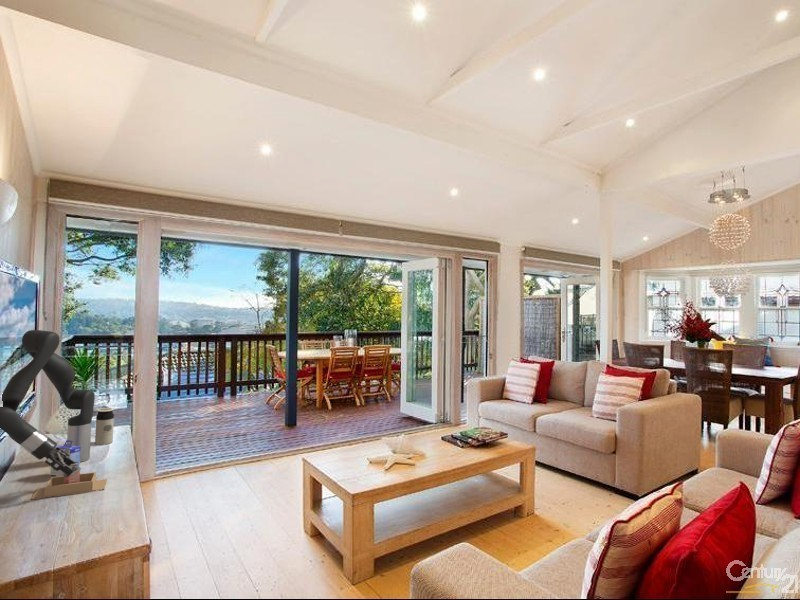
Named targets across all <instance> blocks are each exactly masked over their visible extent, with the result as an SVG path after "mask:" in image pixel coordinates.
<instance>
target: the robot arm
mask: <svg viewBox="0 0 800 600" xmlns="http://www.w3.org/2000/svg"><path fill="white" fill-rule="evenodd" d="M60 341H61V339H60V335H59V334H58V333H57V332H55V331H50V330H49V331H48V330H42V329H31V330H28V331H26V332H25V333H24V334H23V335H22V338H21V344H22V348H23V349H24V350H25V351H26V352H27V353H28V354H29V355H30V356H31V357H32V358H33V359H32V360H31V361H29V362H28V364H26V365H25V366H23V367H22V368H21V369H20V370H18V371H17V372H16V373H15V374H14V375H13V376H12V377H11V378H10V379H9V381H8V383H7V384H6V386H5V388H4V390H3V391H2V393H3V394H2V393H1V395H2V401H3V407H0V428H1V429H0V430H1V431H3V432H5V433H6V434H7V435H8V437H9V438H10V439H12V441H14V442H15V443H17V444H18V445H20V446H21V448H23V449H24V450H25V451H26V452H28V453H29V454H30V455H32V456H33V457H35V459H37V460H42V459H44V458H45V459H46V460H44V463H45V464H47V465H49V466H50V468H51V467H52V468H54V469H55V470H56V471H58V470H59V471H60V470H61V471H62V472H64V473H65V474H66V475H68V476H69V475H70V474H71V473H73V470H72V469H71V468H69V467H68V466H70V465H71V464H75V462H74V461H73V460H71V459H70V457H69V456H70V455H69V454H67V453H66V452H64V451H63V450H62V449H60V448H59V447H57V448H55V447H56V446H58V443H57V442H55V440H53V439H52V438H50V437H49V436H47V435H46V434H45V433H43V432H42V431H40V430H38V429H37V428H36V427H34V425H32V424H30V423H28V422H27V421H26V420H25V419H24V418H23V417H22V416H20V415H19V414H18V413H17V411H18V408H19V406H20V405H21V403H22V402H23V400H24V399H25V398H26V396H27V394H28V392H29V390H30V388H31V386H32V384H33V382H34V381H35V379H36V377H38V375H39V373H41V371H43V372H44V374H45V375H46V377H47V378H48V380H49V381H50V383H52V385H53V387H55V389H56V391H57V392H58V394H59V396H60V398H61V400H62V402H63V405H64V406H65V407H66V409H69V410H77V411H78V410H80V412H79V414H77V415H75V416H72V417H70V418H68V419H67V435H66V437H67V438H66V440H71V441H73V443H72V446H81V449H80V463H82V462H86V461H88V460H89V459H90V457H91V456H90V455H91V454H90V453H91V440H92V439H91V438H92V419H93V416H94V408H95V398H96V396H95V392H94V391H93V390H91V389H75V388H74V386H73V385H72V384H73V382H74V380H75V377H76V374H75V373H76V372H75V370H74V368H73V367H72V365H71V364H70V363H69V362H68V361H67V360H66V359H65V358H63V356H60V355H59V354H57V353H55V352H56V351H57V349H58V347H59V346H60ZM66 444H71V443H70V442H67V443H66ZM54 448H55V449H54ZM65 462H66V463H65ZM65 464H66V465H65ZM67 465H68V466H67Z"/></svg>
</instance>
